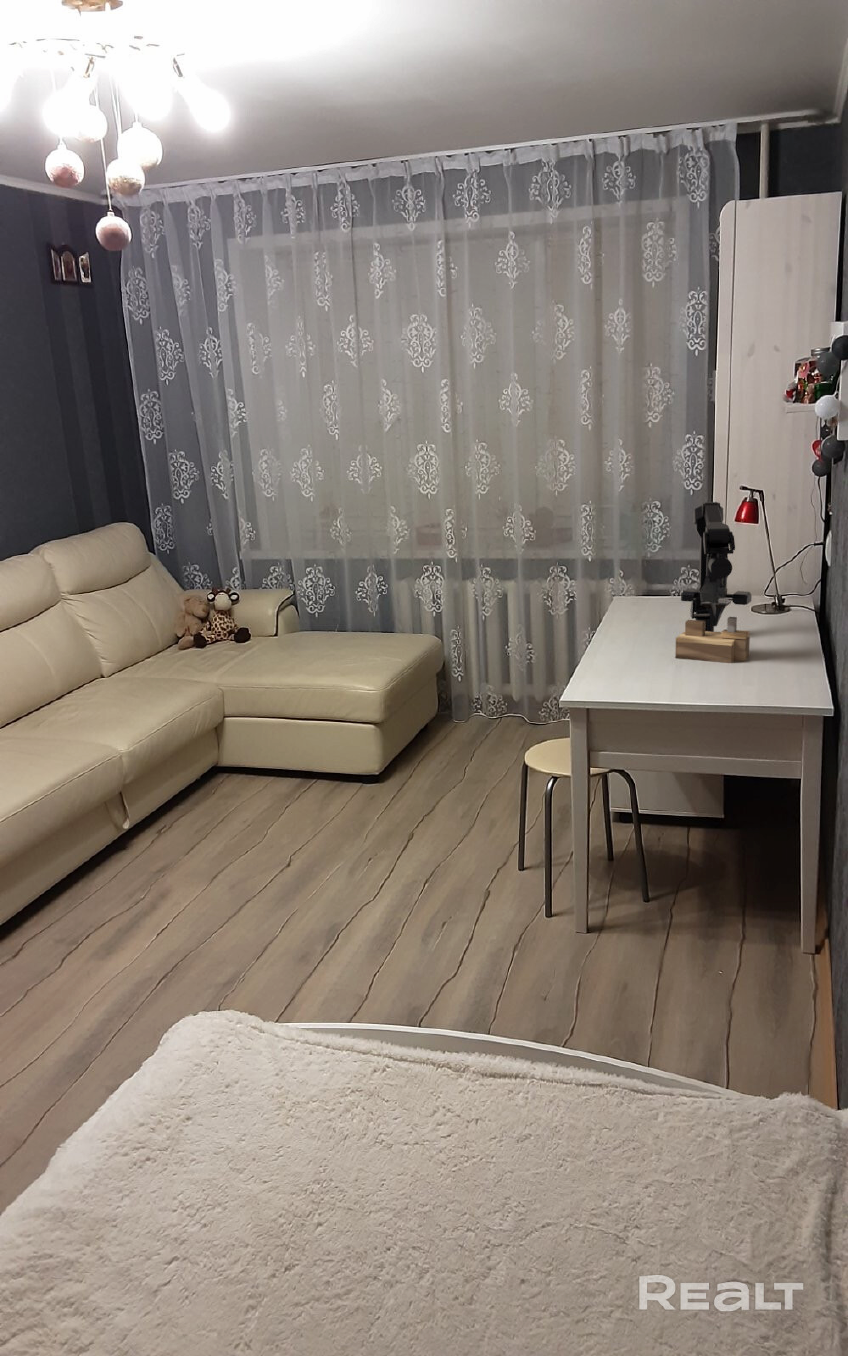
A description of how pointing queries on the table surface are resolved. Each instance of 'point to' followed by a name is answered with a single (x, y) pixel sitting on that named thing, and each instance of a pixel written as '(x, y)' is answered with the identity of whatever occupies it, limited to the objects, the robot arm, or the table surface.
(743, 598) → the robot arm
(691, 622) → the lid
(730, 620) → the block
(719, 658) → the toolbox
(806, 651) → the table surface
